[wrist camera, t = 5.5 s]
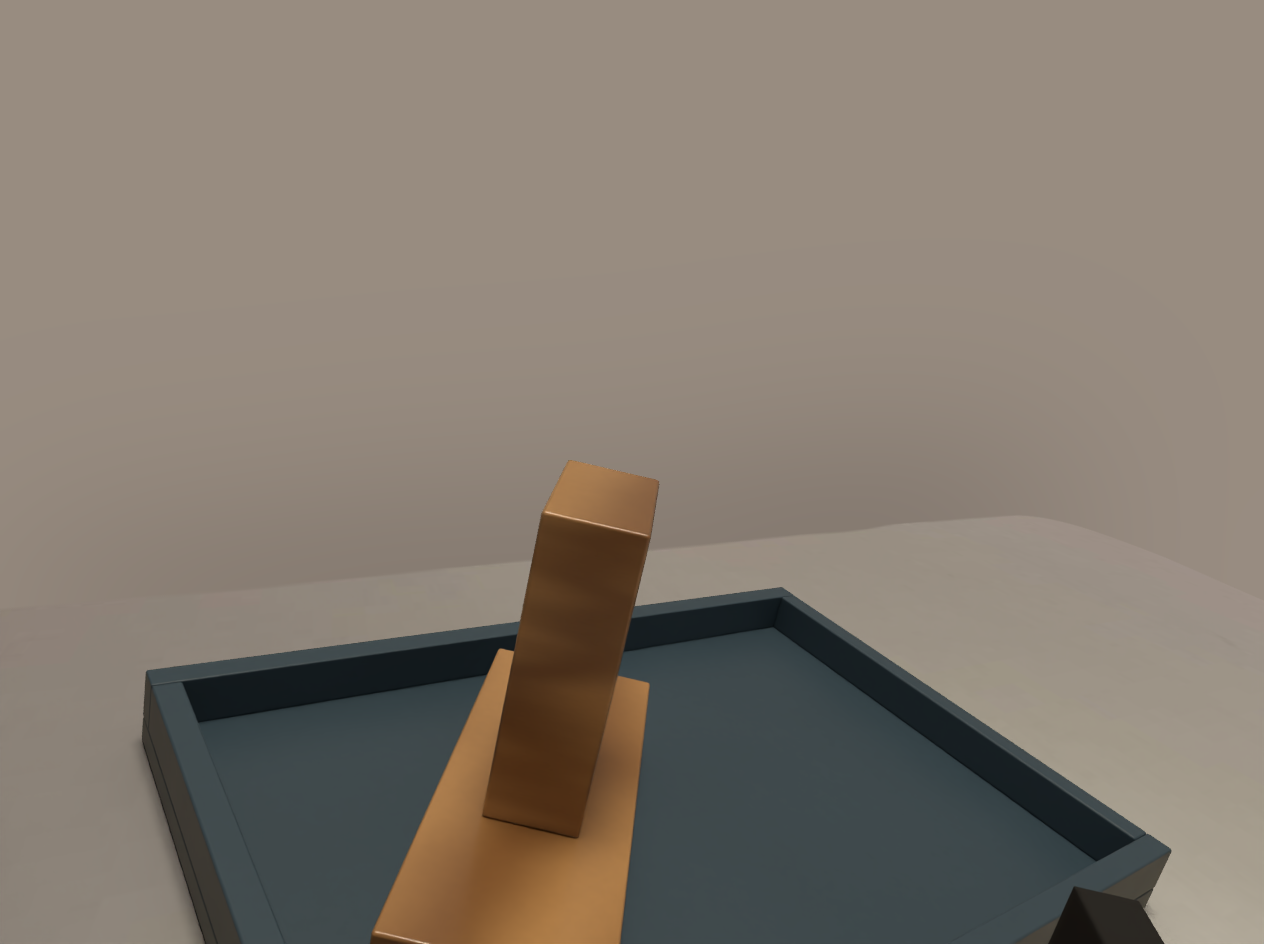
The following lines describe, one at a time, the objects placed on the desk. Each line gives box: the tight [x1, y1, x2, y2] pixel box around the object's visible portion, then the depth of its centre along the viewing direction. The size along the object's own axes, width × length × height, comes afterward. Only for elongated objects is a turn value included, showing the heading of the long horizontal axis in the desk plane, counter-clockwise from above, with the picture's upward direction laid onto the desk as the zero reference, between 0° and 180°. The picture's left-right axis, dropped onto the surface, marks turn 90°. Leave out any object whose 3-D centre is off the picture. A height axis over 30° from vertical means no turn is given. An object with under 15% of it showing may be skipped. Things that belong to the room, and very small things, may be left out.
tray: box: [142, 587, 1171, 944], centre depth 28 cm, size 18×26×2 cm
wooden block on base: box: [370, 460, 659, 944], centre depth 23 cm, size 5×12×10 cm, turn 176°
